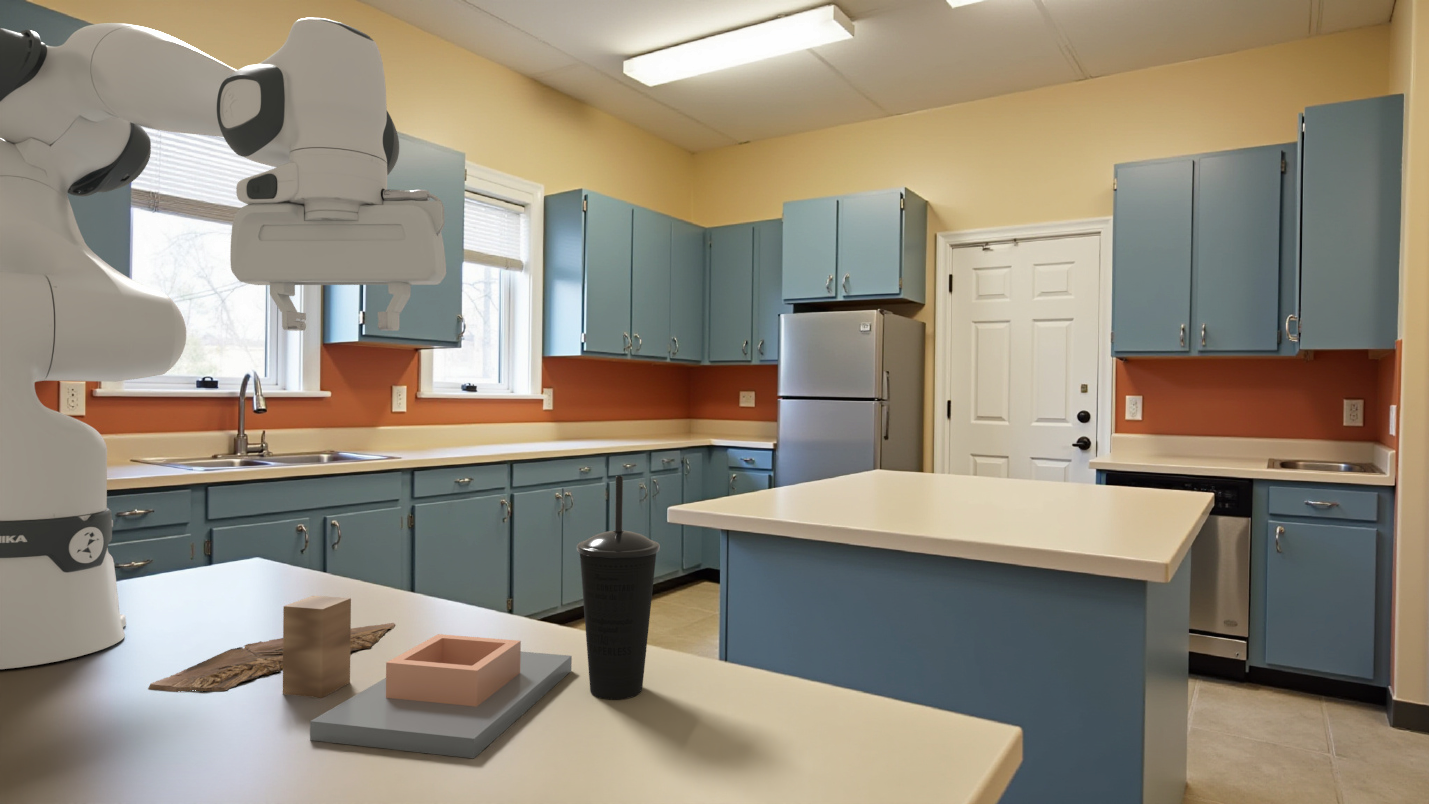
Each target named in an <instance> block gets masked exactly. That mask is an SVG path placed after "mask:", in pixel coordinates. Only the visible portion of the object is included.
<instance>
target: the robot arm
mask: <svg viewBox="0 0 1429 804" xmlns="http://www.w3.org/2000/svg"><path fill="white" fill-rule="evenodd" d="M144 128H147V129H152V130H155V131H156V130H158V131H164V132H170V133H179V134H180V133H181V134H189V135H199V136H200V135H201V136H209V137H210V136H211V137H221V138H224V140H225V142H226V144H227V146H229V147H230V149H231V150H232V151H233V152H234V153H235V154H236V155H238V157H239V156H240V157H243V158H245V159H247V160H249V161H251V162H252V161H253V162H256V163H258V164H262V165H266V166H270V167H274V168H272V169H269V170H266V171H263V172H260V173H258V174H254V175H252V176H248V177H244V178H242V179H241V180H239V181H238V182H237V183H236V188H235V190H236V191H235V192H236V197H237V200H238V201H240V202H242V203H243V204H246V205H244V206H242V207H240V208H239V209H238V211H237V212H236V213H235V215H234V218H233V220H232V226H231V233H230V235H231V237H230V256H229V257H230V270H231V272H232V274H233V275H234V276H235V278H236V279H237V281H239V282H240V283H243V284H249V285H254V286H269V295H270V297H271V298H272V300H273V302H274V303H275V305H276V306H277V309H279V311H280V312H281V325H282V326H281V327H282V329H283V330H284V331H289V332H290V331H292V332H293V331H294V332H295V331H296V332H297V331H299V332H301V331H302V332H303V331H305V330H306V327H307V323H306V322H305V321H306V320H307V317H306V316H307V314H306V312H299V311H298V310H297V309H296V307H295V305H294V302H293V301H292V298H290V297H294V296H295V295H296V290H295V289H296V286H367V285H368V286H387V288H388V290H387V292H388V294H390V295H393V296H392V298H391V300H390V302H389V304H388V306H387V307H386V310H385V311H377V320H378V322H377V328H378V329H379V331H391V332H392V331H394V332H395V331H399V329H400V328H401V327H400V314H401V313H402V312H403V309H404V308H405V306H406V304H407V303H408V301H409V299H410V298H411V295H412V292H411V289H412V287H411V286H412V285H413V286H419V285H420V286H421V285H422V286H423V285H425V286H426V285H427V286H429V285H430V286H431V285H433V286H435V285H436V286H437V285H439V284H441V282H442V281H443V280H444V278H445V277H446V276H447V261H446V251H445V245H444V239H443V234H442V231H443V230H444V227H445V205H444V203H443V202H442V200H441V199H440V198H439V197H438V196H436V195H434V194H432V193H430V191H429V190H426V189H414V190H405V189H388V176H389V175H390V173H391V172H392V171H393V170H394V168H395V166H396V164H397V162H398V159H399V155H400V141H399V140H400V139H399V135H398V130H397V128H396V125H395V123H394V121H393V119H392V117H391V115H390V114H389V112H388V110H387V89H386V77H385V69H384V63H383V58H382V55H381V52H380V49H379V46H378V44H377V42H376V41H375V40H374V39H373V38H371V36H370V35H368V34H367V33H365V32H363V31H361V30H358V29H356V28H355V27H352V26H350V25H347V24H345V23H343V22H340V21H339V22H338V21H336V20H332V19H329V18H321V17H311V16H310V17H309V16H308V17H305V18H304V17H303V18H300V19H298V20H296V21H295V22H293V24H292V26H291V28H290V30H289V33H288V35H287V38H286V40H285V41H284V43H283V45H282V46H281V47H280V48H278V50H276V51H275V52H274V53H273V54H271V55H270V56H268V57H267V58H266V59H264V60H262V61H261V62H259V63H257V64H250V65H246V66H243V67H241V68H239V69H236V68H233V67H231V66H229V65H227V64H226V63H224V62H222V61H220V60H218V59H216V58H214V57H213V56H210V55H209V54H207V53H205V52H203V51H201V50H200V49H198V48H196V47H194V46H192V45H190V44H188V43H186V42H185V41H183V40H180V39H178V38H177V37H174V36H171V35H170V34H167V33H164V32H162V31H159V30H155V29H152V28H149V27H145V26H140V25H135V24H130V23H120V22H108V23H107V22H105V23H95V24H90V25H86V26H84V27H83V26H82V27H81V28H79V29H78V30H75V31H74V32H73V33H72V34H71V35H69V37H68V38H67V40H66V41H65V42H64V43H63V44H61V45H58V46H52V45H51V46H50V45H46V43H44V42H42V40H41V37H40V35H39V34H38V33H37V32H36V31H34V30H30V29H25V30H22V31H19V32H16V31H13V30H9V29H7V28H1V27H0V670H5V669H6V670H7V669H15V668H24V667H31V666H32V667H33V666H38V665H44V664H49V663H54V662H60V661H65V660H69V659H75V658H77V657H82V656H84V655H88V654H92V653H95V652H99V651H101V650H104V649H107V648H109V647H112V646H114V645H115V644H117V643H119V642H121V641H122V640H123V639H124V638H125V636H126V633H125V631H124V627H125V626H126V625H127V619H126V615H125V614H121V610H120V602H119V595H118V594H119V593H118V586H117V584H118V583H117V577H116V570H115V569H116V568H115V562H114V561H115V560H114V558H113V556H112V555H111V554H110V552H109V548H108V547H109V544H110V543H111V542H112V540H113V528H114V520H113V519H112V518H113V517H112V516H113V515H112V510H111V509H110V508H109V507H108V504H107V503H108V502H107V501H108V498H107V497H108V493H107V492H108V491H107V490H108V483H107V482H108V447H107V444H106V443H107V442H106V441H105V439H104V438H103V436H102V434H101V433H100V432H99V431H98V430H97V429H96V428H94V427H93V426H91V425H89V424H88V423H86V422H84V421H81V420H80V419H77V418H75V417H73V416H70V415H67V414H66V413H62V412H60V411H57V410H55V409H51V408H49V407H47V406H45V405H44V404H43V403H42V402H41V401H40V399H39V397H38V395H37V393H36V386H35V383H36V382H42V381H46V382H47V381H48V382H49V381H53V382H56V381H60V382H61V381H63V382H66V381H67V382H112V383H113V382H123V381H131V380H138V379H145V378H150V377H157V376H162V375H165V374H166V373H168V372H169V371H170V370H171V369H172V368H173V367H174V366H175V365H176V363H178V361H179V359H181V356H182V354H183V352H184V350H185V348H186V347H185V346H186V342H187V327H186V323H185V318H184V317H183V314H182V313H181V310H180V308H179V307H178V306H177V305H176V303H175V302H174V300H172V298H170V297H169V296H168V295H167V294H166V293H164V292H161V291H158V290H156V289H153V288H151V287H149V286H145V285H143V284H141V283H139V282H137V281H135V280H133V279H132V278H130V277H129V276H126V275H125V274H124V273H122V272H120V271H118V270H117V269H115V268H114V267H112V266H111V265H110V264H109V263H107V262H106V261H104V260H103V259H102V258H101V257H100V256H98V255H97V254H96V253H95V252H94V251H93V250H92V249H91V248H90V247H89V246H88V245H87V244H86V242H85V239H84V237H83V235H82V233H81V231H80V228H79V225H78V223H77V220H76V217H75V213H74V211H73V208H72V205H71V202H70V199H69V197H68V195H72V196H77V197H88V196H93V195H95V194H96V193H108V192H111V191H115V190H117V189H121V188H123V187H125V186H128V185H129V184H131V183H132V182H134V181H135V180H136V179H137V178H138V177H139V176H140V175H141V174H142V173H143V172H144V170H145V168H146V167H147V165H148V163H149V161H150V159H151V151H152V150H151V149H152V148H151V146H152V143H151V142H152V141H151V137H150V136H149V134H148V133H147V132H146V130H145V129H144ZM430 199H433V200H430Z"/></svg>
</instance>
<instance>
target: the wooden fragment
mask: <svg viewBox="0 0 1429 804" xmlns="http://www.w3.org/2000/svg"><path fill="white" fill-rule="evenodd" d="M395 627H396V623H395V622H390V623H385V624H376V625H367V626H360V627H353V628H351V639H350V653H352V652H354V651H359V650H363V649H364V650H365V649H369V648H372V647H373V646H375V644H376V643H378V642H379V641H380V639H382V638H383V636H384V634H386V633H387V632H388V630H389V629H390V630H393V629H394V628H395ZM243 647H244V648H243ZM282 671H283V637H282V638H275V639H269V640H266V641H258V642H252V643H247V644H245V645H243V646H239V647H237V648H230V649H228V650H226V651H224V652H221V653H219V654H217V655H214V656H212V657H210V658H207V659H206V660H203V661H201V662H198V663H197V664H195V665H192V666H190V667H188V668H186V669H183V670H181V671H179V672H177V673H175V674H172V675H170V676H168V677H167V676H166V677H164V678H162V679H159V680H156V681H153V682H151V683H150V684H149V685H148V686H149V687H147V690H155V691H166V692H171V693H182V692H181V691H186V692H195V690H196V691H202V692H201V693H203V691H208V692H219V691H220V692H225V691H229V690H230V689H232V688H233V687H237V686H238V685H240V684H241V683H244V682H248V681H251V680H255V679H257V678H258V677H260V676H269V675H271V674H274V673H277V672H278V673H279V672H282ZM190 690H191V691H190ZM192 690H194V691H192ZM178 691H180V692H178Z"/></svg>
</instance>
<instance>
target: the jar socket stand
mask: <svg viewBox="0 0 1429 804" xmlns="http://www.w3.org/2000/svg"><path fill="white" fill-rule="evenodd" d="M521 646H522V645H521V640H517V639H516V640H515V639H503V638H492V637H491V638H489V637H478V636H466V635H453V634H442V633H441V634H440V633H439V634H436V635H434V636H432V637H431V638H428V639H426V640H425V641H423V642H422V643H418V645H416V646H414V647H412V648H411V649H409V650H406V651H404V652H403V653H401V654H399V655H397V656H395V657H394V658H391V659H390V660H388V661H386V662H385V678H383V679H381V680H379V681H378V682H376V683H374V684H372V685H370V686H369V687H367V688H365V689H364V690H362V691H360V692H358V693H357V694H355V695H354V696H352V697H350V698H348V699H346V700H345V701H343V702H340V704H338V705H336V706H334V707H333V708H331V709H329V710H327V711H326V712H324V713H322V714H320V715H318V716H317V717H315V718H313V719H312V720H310V721H309V722H310V725H309V726H310V728H309V730H310V732H309V736H310V737H309V739H310V741H316V742H324V743H325V742H326V743H331V744H332V743H333V744H342V745H343V744H344V745H351V746H352V745H353V746H361V747H368V748H376V749H377V748H378V749H387V750H394V751H395V750H396V751H404V752H405V751H406V752H413V753H421V754H422V753H423V754H432V755H438V756H450V757H458V758H468V759H475V758H476V757H477V756H478V755H479V754H481V752H483V751H484V750H485V749H486V748H487V747H489V745H491V744H492V743H493V742H494V741H496V739H497V738H498V737H500V736H501V735H502V734H503V733H504V732H505V731H506V730H507V729H508V728H509V727H511V725H513V724H514V723H515V722H516V721H517V720H518V719H519V718H520V717H522V716H523V715H524V714H525V713H526V712H527V711H528V710H530V709H531V708H532V707H533V706H534V705H535V704H536V703H538V702H539V700H540V699H541V698H543V697H544V696H545V695H546V694H548V693H549V692H550V691H551V690H552V689H553V688H554V687H555V686H556V685H557V684H559V683H560V682H561V680H563V679H564V678H565V677H566V676H567V675H568V674H570V673H571V672H572V665H573V664H572V660H573V659H572V656H573V655H570V654H569V655H568V654H567V655H566V654H558V653H557V654H555V653H546V652H545V653H543V652H534V651H533V652H531V651H521V650H522V649H521Z"/></svg>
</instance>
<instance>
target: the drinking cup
mask: <svg viewBox="0 0 1429 804" xmlns="http://www.w3.org/2000/svg"><path fill="white" fill-rule="evenodd" d="M623 495H624V476H623V475H615V495H614V496H615V500H614V501H615V502H614V503H615V504H614V505H615V507H614V508H615V509H614V512H615V514H614V530H609V531H604V532H600V533H598V534H597V533H596V534H595V535H593V536H591V537H589V538H587V539H586V540H582V541H580V542H579V543H577V545H576V551H577V553H579V558H580V559H579V561H580V571H581V585H582V597H583V598H582V599H583V612H584V624H585V625H584V627H585V636H586V637H585V639H586V653H587V663H588V664H587V665H588V679H589V680H588V681H589V691H590V693H591V695H592V696H594V697H596V698H599V699H604V700H625V699H630V698H633V697H637V695H640V694H641V693H642V691H643V685H644V674H645V665H646V657H647V655H646V654H647V647H648V646H647V645H648V635H649V626H650V616H651V607H652V600H653V599H652V598H653V587H654V578H655V569H656V559H657V553H658V552H659V551H660V548H661V546H660V543H659V542H657V541H655V540H652V539H650V538H648V537H647V536H645V535H643V534H641V533H638V532H634V531H629V530H623V514H624V513H623V508H624V507H623V505H624V504H623V503H624V501H623V499H624V498H623V497H624V496H623Z"/></svg>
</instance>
